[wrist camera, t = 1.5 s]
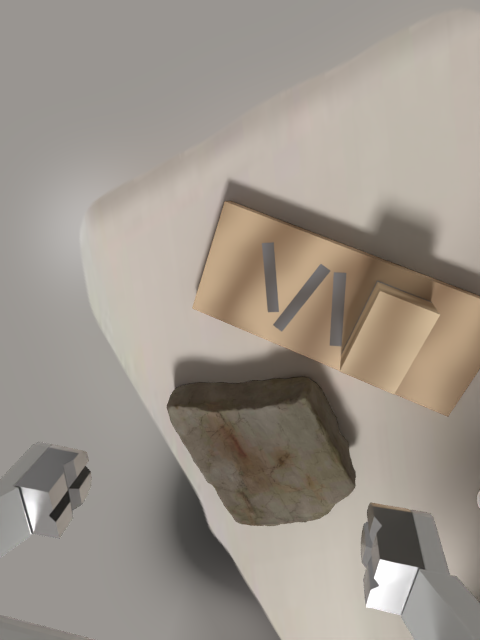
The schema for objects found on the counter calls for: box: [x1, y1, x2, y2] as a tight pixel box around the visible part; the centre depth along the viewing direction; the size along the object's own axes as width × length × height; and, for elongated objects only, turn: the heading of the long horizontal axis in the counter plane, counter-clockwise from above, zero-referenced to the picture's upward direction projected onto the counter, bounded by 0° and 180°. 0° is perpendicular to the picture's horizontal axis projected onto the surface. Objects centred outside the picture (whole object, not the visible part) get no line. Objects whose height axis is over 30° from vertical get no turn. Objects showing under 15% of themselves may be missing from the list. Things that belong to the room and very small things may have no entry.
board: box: [193, 201, 480, 417], centre depth 34 cm, size 24×10×2 cm, turn 71°
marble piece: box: [167, 377, 356, 526], centre depth 39 cm, size 17×15×4 cm
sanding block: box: [340, 280, 440, 394], centre depth 31 cm, size 4×7×4 cm, turn 161°
